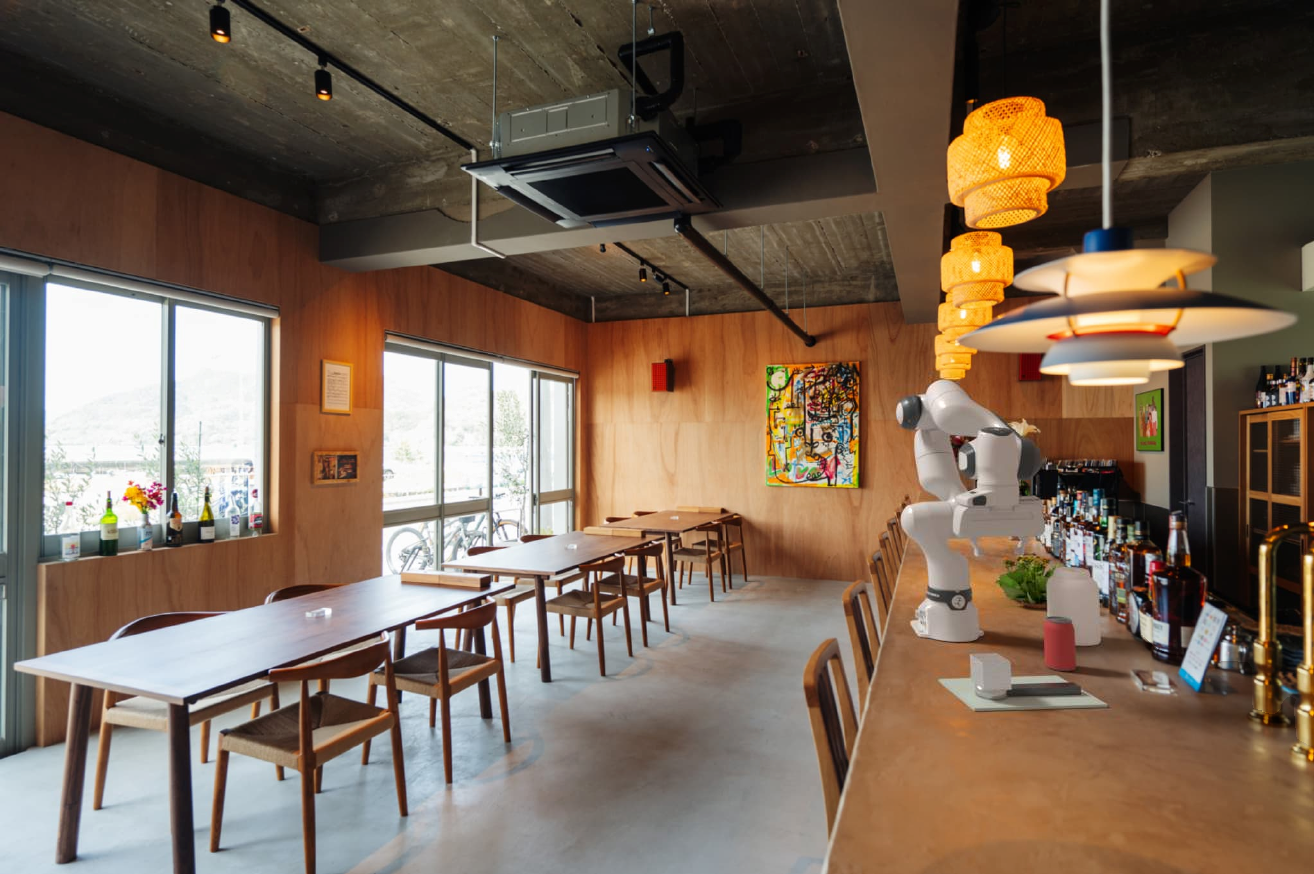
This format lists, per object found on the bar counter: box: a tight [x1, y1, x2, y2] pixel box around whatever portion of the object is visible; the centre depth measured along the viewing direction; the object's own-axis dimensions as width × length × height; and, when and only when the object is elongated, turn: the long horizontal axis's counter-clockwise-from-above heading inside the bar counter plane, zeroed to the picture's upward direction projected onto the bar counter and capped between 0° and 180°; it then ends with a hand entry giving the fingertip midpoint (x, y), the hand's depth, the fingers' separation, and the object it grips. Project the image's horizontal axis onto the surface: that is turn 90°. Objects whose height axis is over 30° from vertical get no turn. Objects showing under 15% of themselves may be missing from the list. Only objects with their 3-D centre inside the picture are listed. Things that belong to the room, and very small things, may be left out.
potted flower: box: [994, 554, 1061, 609], centre depth 230 cm, size 25×24×18 cm
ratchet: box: [975, 681, 1082, 701], centre depth 149 cm, size 6×22×5 cm, turn 90°
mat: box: [938, 675, 1109, 712], centre depth 151 cm, size 18×28×1 cm, turn 90°
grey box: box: [969, 652, 1012, 690], centre depth 149 cm, size 6×6×6 cm
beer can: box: [1043, 616, 1077, 672], centre depth 167 cm, size 7×7×12 cm
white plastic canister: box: [1046, 566, 1102, 647], centre depth 190 cm, size 12×12×20 cm
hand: (999, 555), depth 159 cm, fingers open, 8 cm apart
